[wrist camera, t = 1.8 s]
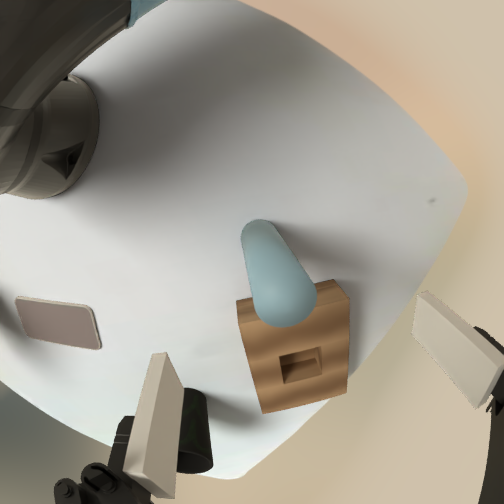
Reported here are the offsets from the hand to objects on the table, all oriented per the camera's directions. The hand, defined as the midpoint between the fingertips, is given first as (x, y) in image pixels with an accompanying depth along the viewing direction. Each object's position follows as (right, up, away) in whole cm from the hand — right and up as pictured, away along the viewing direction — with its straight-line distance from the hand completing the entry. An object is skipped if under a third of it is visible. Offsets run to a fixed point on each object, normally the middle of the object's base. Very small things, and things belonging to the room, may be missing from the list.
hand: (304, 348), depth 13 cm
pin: (-2, +6, +17) cm, 19 cm away
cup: (-12, -18, +25) cm, 33 cm away
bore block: (+3, -7, +22) cm, 24 cm away
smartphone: (-31, -5, +19) cm, 37 cm away
